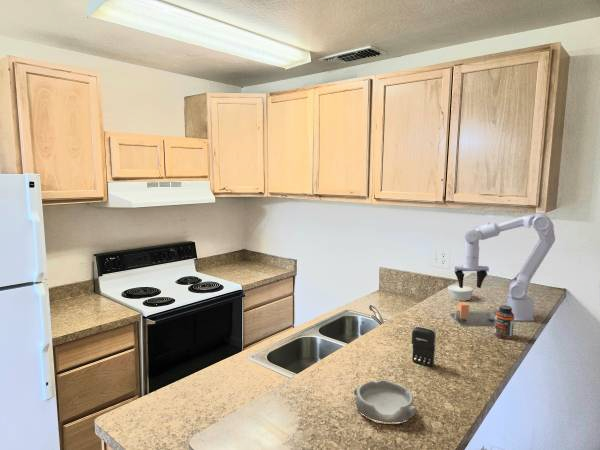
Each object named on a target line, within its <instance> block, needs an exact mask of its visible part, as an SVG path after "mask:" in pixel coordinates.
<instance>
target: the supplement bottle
mask: <svg viewBox="0 0 600 450" xmlns="http://www.w3.org/2000/svg"><path fill="white" fill-rule="evenodd" d="M511 311H512V307H510V306H506V305H505V304H502V305H499V310H497V311H496V313H495V319H496V320H495V326H494V335H495V336H496V337H497V338H499V339H503V340H511V339H512V338H513V335H514V325H515V321H514V314H513V313H512V312H511Z"/></svg>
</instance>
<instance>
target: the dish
mask: <svg viewBox="0 0 600 450" xmlns="http://www.w3.org/2000/svg"><path fill="white" fill-rule="evenodd" d="M353 393H354V395H355V404H356V408H357V410H359V411H360V412H361V413H362V414H364V415H365V416H367V417H369V418H371V419H374V420H378V421H383V422H403V421H405V420H408V419H409V418H410V417H411V418H412V417H414V416H415V414H416V412H417V406H416V405H415V406H414V397H413V394H412V392H411V391H410V390H409V389H408V388H407V387H405V386H404V385H401V384H399V383H396V382H394V381H390V380H386V379H380V380H378V381H373V380H370V381H366V382H364V383H362V384H361V385H360V386H358V385H357V386H356V387H355V388H354V392H353ZM359 411H358V412H359ZM360 412H359V413H360ZM411 418H410V419H411ZM410 419H409V420H410ZM409 420H408V421H409Z"/></svg>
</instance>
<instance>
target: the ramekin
mask: <svg viewBox="0 0 600 450" xmlns="http://www.w3.org/2000/svg"><path fill="white" fill-rule="evenodd" d="M447 289H448V295H449V297H450V298H452V299H451V300H453V299H455V300H454V301H457V300H461V301H460V302H467V301H466V300H469V301H470V300H471V299H472V297H473V292H474V288H473V287H471V286H470V285H469V286H468V285H465V284H463V288H460V287H459V284H451V285H448V286H447Z"/></svg>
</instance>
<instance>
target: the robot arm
mask: <svg viewBox="0 0 600 450" xmlns="http://www.w3.org/2000/svg"><path fill="white" fill-rule="evenodd" d="M521 227H522V228H523V227H524V228H528V229H531V227H532V229H534V230H535V231H536V233H537V235H538V237H539V239H538V241H537V243H536V245H535V246H534V248H533V249H532V251H531V252H530V255H529V256H528V258H527V259H526V261H525V263H524V264H523V266H522V267H521V268H520V270H519V272H518V273H517V274H516V275H515V277H514V278H512V279H510V280H509V282H508V292H507V294H506V303H505V304H506V306H510V307H512V311H511V312H512V313H513V314H514V322H515V321H517V322H518V321H522V322H523V321H524V322H525V321H526V322H527V321H528V322H530V321H531V322H532V321H535V319H534V310H535V301H534V299H533V298H532V297H531V296H528V295H527V294H528V287H529V286H530V284H531V280H532V279H533V277H534V275H535V274H536V272H537V270H538V268H540V266H541V264H542V262H543V261H544V260H545V257H546V256H547V255H548V253H549V251H550V249H551V248H552V247H553V244H555V242H556V235H555V229H554V228H555V226H554V223H553V222H552V219H551V218H550V217H549V216H547V214H545V213H543V212H537V213H534V214H526V215H523V216H520V217H516V218H513V219H510V220H507V221H504V222H500V223H495V222H491V221H489V222H488V221H487V223H486V224H483V225H480V226H477V225H476V226H474V228H469V229H467V230H466V232H465V234H464V239H465V241H464V243H465V244H464V253H463V265H453V266H452V271H453V272H454V274H455V276H456V278H457V283H458V285H459V287H460V288H463V285H464V277H465V273H464V272H476V288H478V289H481V288H482V285H483V282H484V281H485V279H486V277H487V276H488V273H489V271H490V267H489V266H487V265H479V261H480V258H479V257H480V246H479V245H480V240H481V241H484V240H488V239H491V238H494V237H498V236H499V235H500V233H501V232H504V231H509V230H513V229H518V228H521Z"/></svg>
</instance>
